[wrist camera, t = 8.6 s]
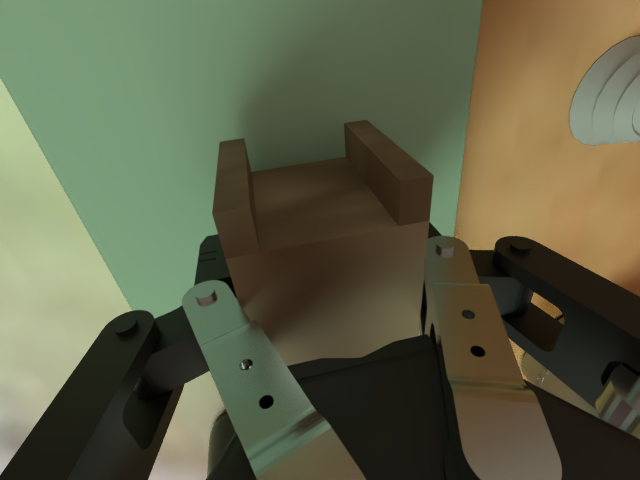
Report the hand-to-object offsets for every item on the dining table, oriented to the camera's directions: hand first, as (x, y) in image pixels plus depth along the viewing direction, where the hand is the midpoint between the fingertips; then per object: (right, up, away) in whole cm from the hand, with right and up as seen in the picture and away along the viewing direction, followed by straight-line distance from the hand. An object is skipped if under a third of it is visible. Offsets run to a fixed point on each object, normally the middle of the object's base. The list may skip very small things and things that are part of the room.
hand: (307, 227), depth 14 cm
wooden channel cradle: (0, 0, 0) cm, 0 cm away
